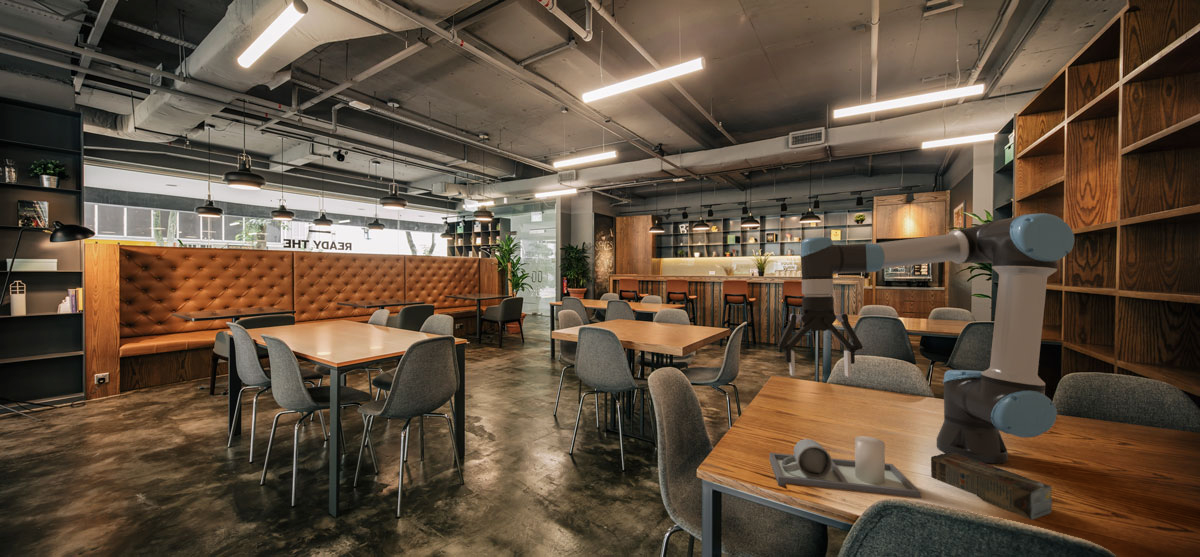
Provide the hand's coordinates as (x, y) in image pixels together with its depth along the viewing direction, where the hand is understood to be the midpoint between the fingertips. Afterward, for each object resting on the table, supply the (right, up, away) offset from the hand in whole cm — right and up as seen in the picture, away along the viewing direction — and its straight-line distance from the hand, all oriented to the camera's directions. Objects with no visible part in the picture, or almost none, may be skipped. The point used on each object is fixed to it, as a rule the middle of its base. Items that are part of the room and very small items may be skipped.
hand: (819, 375), depth 114 cm
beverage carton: (+28, -23, -18) cm, 41 cm away
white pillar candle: (+6, -22, -12) cm, 26 cm away
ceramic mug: (-8, -22, -8) cm, 25 cm away
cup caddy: (-1, -23, -10) cm, 25 cm away
